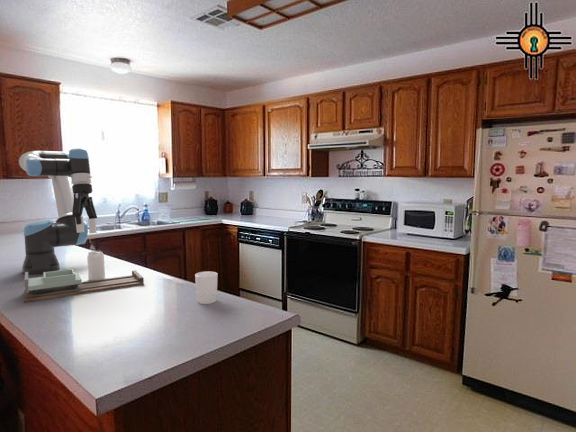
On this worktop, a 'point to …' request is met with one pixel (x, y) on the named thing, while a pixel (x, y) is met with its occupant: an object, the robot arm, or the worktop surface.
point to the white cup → (206, 287)
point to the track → (87, 287)
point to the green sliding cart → (52, 280)
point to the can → (96, 265)
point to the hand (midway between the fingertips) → (87, 232)
